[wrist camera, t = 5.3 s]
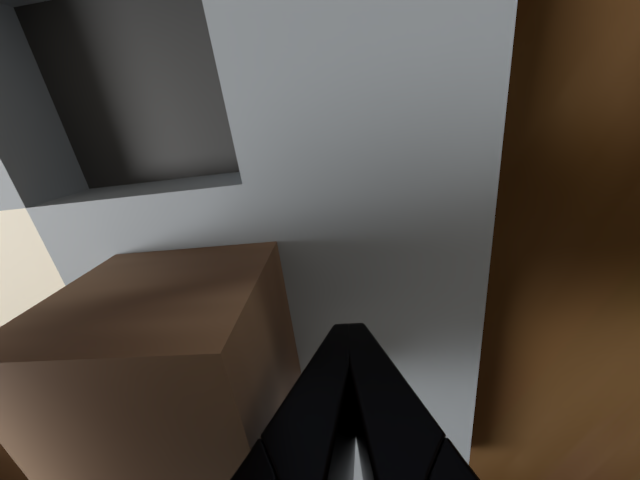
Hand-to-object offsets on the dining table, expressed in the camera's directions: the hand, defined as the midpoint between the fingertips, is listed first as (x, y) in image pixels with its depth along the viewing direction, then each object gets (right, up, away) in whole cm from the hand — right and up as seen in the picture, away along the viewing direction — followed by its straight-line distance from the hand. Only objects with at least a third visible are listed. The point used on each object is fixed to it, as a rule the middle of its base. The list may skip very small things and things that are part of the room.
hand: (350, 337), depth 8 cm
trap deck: (-5, +1, +4) cm, 6 cm away
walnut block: (-4, 0, +1) cm, 4 cm away
